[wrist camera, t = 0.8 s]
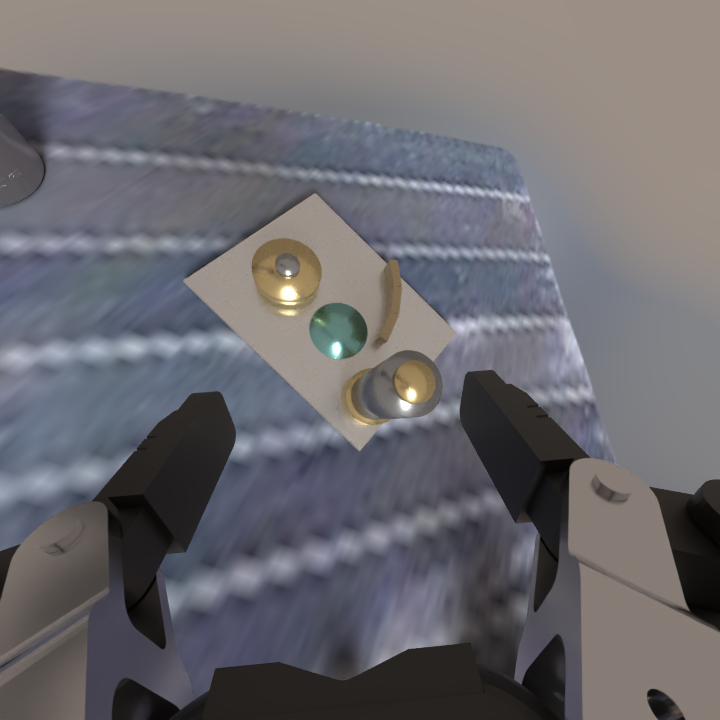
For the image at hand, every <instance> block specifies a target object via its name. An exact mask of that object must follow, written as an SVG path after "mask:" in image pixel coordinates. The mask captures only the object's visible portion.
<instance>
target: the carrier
mask: <svg viewBox="0 0 720 720" xmlns="http://www.w3.org/2000/svg"><path fill="white" fill-rule="evenodd" d="M183 282H184V284H185V285H186V286H187V287H188V288H189V289H190V290H191V291H192V292H193V293H194V294H195V295H196V296H197V297H198V298H199V299H200V300H201V301H202V302H203V303H204V304H205V305H206V306H207V307H208V308H209V309H210V310H212V311H213V312H214V313H215V314H216V315H217V316H218V317H219V318H220V319H221V320H222V321H223V322H224V323H225V324H226V325H227V326H228V327H229V328H230V329H231V330H232V331H233V332H234V333H235V334H236V335H238V336H239V337H240V338H241V339H242V340H243V341H244V342H245V343H246V344H247V345H248V346H249V347H250V348H251V349H252V350H253V351H254V352H255V353H256V354H257V355H258V356H259V357H260V358H261V359H262V360H264V361H265V362H266V363H267V364H268V365H269V366H270V367H271V368H272V369H273V370H274V371H275V372H276V373H277V374H278V375H279V376H280V377H281V378H282V379H283V380H284V381H285V382H286V383H287V384H288V385H290V386H291V387H292V388H293V389H294V390H295V391H296V392H297V393H298V394H299V395H300V396H301V397H302V398H303V399H304V400H305V401H306V402H307V403H308V404H309V405H310V406H311V407H312V408H313V409H314V410H316V411H317V412H318V413H319V414H320V415H321V416H322V417H323V418H324V419H325V420H326V421H327V422H328V423H329V424H330V425H331V426H332V427H333V428H334V429H335V430H336V431H337V432H338V433H339V434H340V435H342V436H343V437H344V438H345V439H346V440H347V441H348V442H349V443H350V444H351V445H352V446H353V447H354V448H355V449H356V450H358V451H360V450H361V449H362V448H363V447H364V445H365V444H366V443H367V442H368V440H369V439H370V438H371V437H372V436H373V434H374V433H375V432H376V431H377V429H378V428H379V427H380V426H381V425H382V424H379V425H363V424H360V423H358V422H356V421H354V420H353V419H352V418H350V416H349V415H348V414H347V413H346V411H345V409H344V406H343V402H342V393H343V389H344V386H345V384H346V383H347V381H348V380H349V379H350V378H351V377H352V376H354V375H355V374H356V373H358V372H359V371H361V370H364V369H368V368H374V367H375V366H377V365H378V364H380V363H381V362H383V361H385V360H386V359H388V358H389V357H391V356H392V355H394V354H395V353H397V352H400V351H404V350H413V351H418V352H420V353H422V354H424V355H426V356H427V357H429V358H430V359H431V360H432V361H434V360H435V359H436V357H437V356H438V355H439V354H440V352H441V351H442V350H443V349H444V348H445V346H446V345H447V344H448V343H449V341H450V340H451V339H452V338H453V337H454V335H455V334H456V332H455V331H454V330H453V329H452V328H451V327H450V326H449V325H448V324H447V323H446V322H445V321H444V320H443V319H442V318H441V317H440V316H439V315H438V314H437V313H436V312H435V311H434V310H433V309H432V308H431V307H430V306H429V305H428V304H427V303H426V302H425V301H424V300H423V299H422V298H421V297H420V296H419V295H418V294H417V293H416V292H415V291H414V290H413V289H412V288H411V287H410V286H409V285H408V284H407V283H406V282H405V281H404V280H403V279H402V278H401V277H400V272H399V266H398V260H389V262H388V263H386V262H385V261H384V260H383V259H382V258H381V257H380V256H379V255H378V254H377V253H376V252H375V251H373V250H372V249H371V248H370V247H369V246H368V245H367V244H366V243H365V242H364V241H363V240H362V239H361V238H360V237H359V236H358V235H357V234H356V233H355V232H354V231H353V230H352V229H351V228H350V227H349V226H348V225H347V224H346V223H345V222H344V221H343V220H342V219H341V218H340V217H339V216H338V215H337V214H336V213H335V212H334V211H333V210H332V209H331V208H330V207H329V206H328V205H327V204H326V203H325V202H324V201H323V200H322V199H321V198H320V197H319V196H318V195H317V194H316V193H314V194H313V195H311V196H310V197H308V198H307V199H305V200H304V201H302V202H301V203H299V204H298V205H296V206H295V207H293V208H292V209H290V210H289V211H287V212H286V213H284V214H283V215H281V216H280V217H278V218H277V219H275V220H274V221H272V222H271V223H269V224H268V225H266V226H265V227H263V228H262V229H260V230H259V231H257V232H256V233H254V234H253V235H251V236H250V237H248V238H247V239H245V240H244V241H242V242H241V243H239V244H238V245H236V246H235V247H233V248H232V249H230V250H229V251H227V252H226V253H224V254H223V255H221V256H220V257H218V258H217V259H215V260H214V261H212V262H211V263H209V264H207V265H206V266H204V267H203V268H201V269H200V270H198V271H197V272H195V273H194V274H192V275H191V276H189V277H188V278H186V279H185V280H183Z"/></svg>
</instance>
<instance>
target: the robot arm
mask: <svg viewBox="0 0 720 720" xmlns="http://www.w3.org/2000/svg"><path fill="white" fill-rule="evenodd" d="M43 175H44V165H43V162H42V159H41V157H40V156H39V154H38V153H37V151H36V150H35V149H34V148H33V147H32V146H31V145H30V144H29V142H28V141H27V140H26V139H25V138H24V137H23V136H22V135H21V134H20V133H19V132H18V130H17V129H16V128H15V127H14V126H13V125H12V124H11V123H10V122H9V121H8V119H7V118H6V117H5V116H4V115H3V114H2V113H1V112H0V207H3V206H8V205H10V204H13V203H16V202H19V201H21V200H22V199H24V198H26V197H28V196H29V195H30V194H31V193H33V192H34V191H35V190H36V189H37V187H38V186H39V185H40V183H41V181H42V178H43ZM460 419H461V423H462V426H463V428H464V430H465V432H466V433H467V435H468V437H469V439H470V441H471V443H472V444H473V446H474V448H475V450H476V452H477V454H478V455H479V457H480V459H481V461H482V463H483V465H484V466H485V468H486V470H487V472H488V474H489V476H490V477H491V479H492V481H493V483H494V485H495V487H496V488H497V490H498V492H499V494H500V496H501V498H502V499H503V501H504V503H505V505H506V507H507V509H508V510H509V512H510V514H511V516H512V518H513V520H514V521H515V523H526V522H533V524H534V525H535V527H536V529H537V530H538V534H537V536H536V541H535V550H534V559H533V567H532V576H531V585H530V594H529V603H528V612H527V618H526V623H525V627H524V630H523V633H522V636H521V640H520V644H519V649H518V655H517V661H516V669H515V677H514V679H512V678H511V677H509V676H507V675H506V674H504V673H503V672H501V671H499V670H497V669H494V668H492V667H490V666H488V665H485V664H483V663H480V662H476V661H475V658H474V654H473V651H472V647H471V644H470V643H465V644H455V645H445V646H435V647H425V648H415V649H408V650H406V651H404V652H402V653H400V654H398V655H396V656H394V657H392V658H390V659H388V660H386V661H384V662H382V663H381V664H379V665H377V666H375V667H373V668H371V669H369V670H367V671H365V672H363V673H361V674H359V675H357V676H355V677H353V678H351V679H349V680H344V681H340V680H335V679H332V678H329V677H326V676H322V675H319V674H316V673H313V672H309V671H306V670H303V669H300V668H296V667H293V666H290V665H287V664H283V663H280V662H276V663H266V664H256V665H246V666H236V667H226V668H216V669H215V672H214V676H213V679H212V683H211V687H210V690H209V691H208V692H206V693H204V694H203V695H201V696H200V697H198V698H197V699H194V694H193V690H192V686H191V683H190V680H189V677H188V675H187V672H186V670H185V668H184V666H183V664H182V663H181V660H180V658H179V655H178V652H177V649H176V644H175V638H174V633H173V627H172V621H171V616H170V610H169V604H168V598H167V593H166V587H165V581H164V576H163V572H162V570H161V568H160V565H161V563H162V561H163V559H164V557H165V555H166V554H171V553H182V552H186V550H187V548H188V546H189V544H190V542H191V539H192V537H193V535H194V533H195V531H196V528H197V526H198V524H199V522H200V519H201V517H202V515H203V513H204V511H205V508H206V506H207V504H208V502H209V500H210V497H211V495H212V493H213V491H214V489H215V486H216V484H217V482H218V480H219V478H220V475H221V473H222V471H223V469H224V466H225V464H226V462H227V460H228V458H229V455H230V453H231V451H232V449H233V447H234V444H235V438H236V431H235V426H234V424H233V421H232V418H231V416H230V413H229V411H228V408H227V406H226V403H225V400H224V398H223V396H222V394H221V393H220V392H218V391H216V392H203V393H193V394H191V395H190V396H189V397H188V398H187V399H186V401H185V402H184V403H183V404H182V406H181V407H180V408H179V409H178V410H176V411H174V412H173V413H171V414H170V415H169V416H167V417H166V418H164V419H163V420H162V421H160V422H159V423H158V424H157V425H156V426H155V428H154V429H153V430H152V431H151V432H150V434H149V435H148V436H147V439H144V441H143V442H142V443H141V444H140V445H139V447H138V448H137V451H134V452H133V454H132V455H131V456H130V457H129V458H128V459H127V461H126V462H125V463H124V464H123V465H122V467H121V468H120V469H119V470H118V471H117V472H116V474H115V475H114V476H113V477H112V478H111V480H110V481H109V482H108V483H107V484H106V485H105V487H104V488H103V489H102V490H101V491H100V493H99V494H98V495H97V496H96V497H95V498H94V500H93V501H92V502H85V503H81V504H78V505H75V506H73V507H70V508H68V509H66V510H64V511H62V512H60V513H58V514H57V515H55V516H53V517H52V518H50V519H49V520H47V521H46V522H45V523H43V524H42V525H41V526H39V527H38V528H37V529H36V530H35V531H33V532H32V533H31V534H30V535H29V536H28V537H27V538H26V539H25V540H24V541H23V543H22V544H20V545H17V546H14V547H11V548H8V549H5V550H3V551H0V720H720V480H709V481H707V482H705V483H704V484H703V485H702V486H701V487H700V488H699V489H698V490H697V492H696V493H695V494H694V495H692V494H686V493H680V492H675V491H669V490H664V489H658V488H652V487H648V486H647V485H646V484H645V483H644V482H643V481H642V480H640V479H639V478H638V477H637V476H635V475H634V474H632V473H631V472H629V471H627V470H626V469H624V468H622V467H620V466H618V465H615V464H613V463H610V462H607V461H604V460H600V459H593V458H590V457H589V456H588V455H587V454H586V453H585V452H584V451H583V450H582V449H581V448H580V447H579V446H578V445H577V444H576V443H575V442H574V441H573V440H572V439H571V438H570V437H569V436H568V435H567V434H566V433H565V432H564V431H563V429H562V428H561V427H560V426H559V425H558V424H557V423H556V422H555V421H554V420H553V419H552V418H551V417H550V418H549V417H548V414H547V413H546V412H545V411H544V410H543V409H542V408H541V407H538V404H537V403H536V402H535V401H534V400H533V399H532V398H531V397H530V396H529V395H528V394H527V393H526V392H524V391H522V390H520V389H519V388H517V387H515V386H513V385H512V384H506V383H505V382H504V381H503V380H502V379H501V378H500V377H499V376H498V375H497V374H496V372H494V371H493V370H486V371H473V372H467V374H466V376H465V380H464V386H463V392H462V398H461V404H460Z"/></svg>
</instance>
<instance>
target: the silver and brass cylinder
mask: <svg viewBox="0 0 720 720" xmlns="http://www.w3.org/2000/svg"><path fill="white" fill-rule="evenodd" d="M441 395H442V379H441V375H440V372H439V370H438V368H437V366H436V365H435V364H434V362H433V361H432V360H431V359H430V358H429V357H427V356H426V355H424V354H422V353H420V352H418V351H413V350H404V351H400V352H397V353H395V354H394V355H392V356H391V357H389V358H388V359H386V360H385V361H383V362H381V363H380V364H378V365H377V366H375V367H374V368H368V369H364V370H361V371H359V372H358V373H356V374H355V375H354V376H352V377H351V378H350V379H349V380H348V381H347V383H346V384H345V386H344V389H343V393H342V402H343V406H344V409H345V411H346V413H347V414H348V415H349V416H350V418H352V419H353V420H354V421H356V422H358V423H360V424H363V425H379V424H383V423H385V422H387V421H389V420H390V419H396V418H412V417H420V416H424V415H426V414H428V413H429V412H431V411H432V410H433V409H434V408H435V407H436V406H437V404H438V402H439V400H440V398H441Z"/></svg>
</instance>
